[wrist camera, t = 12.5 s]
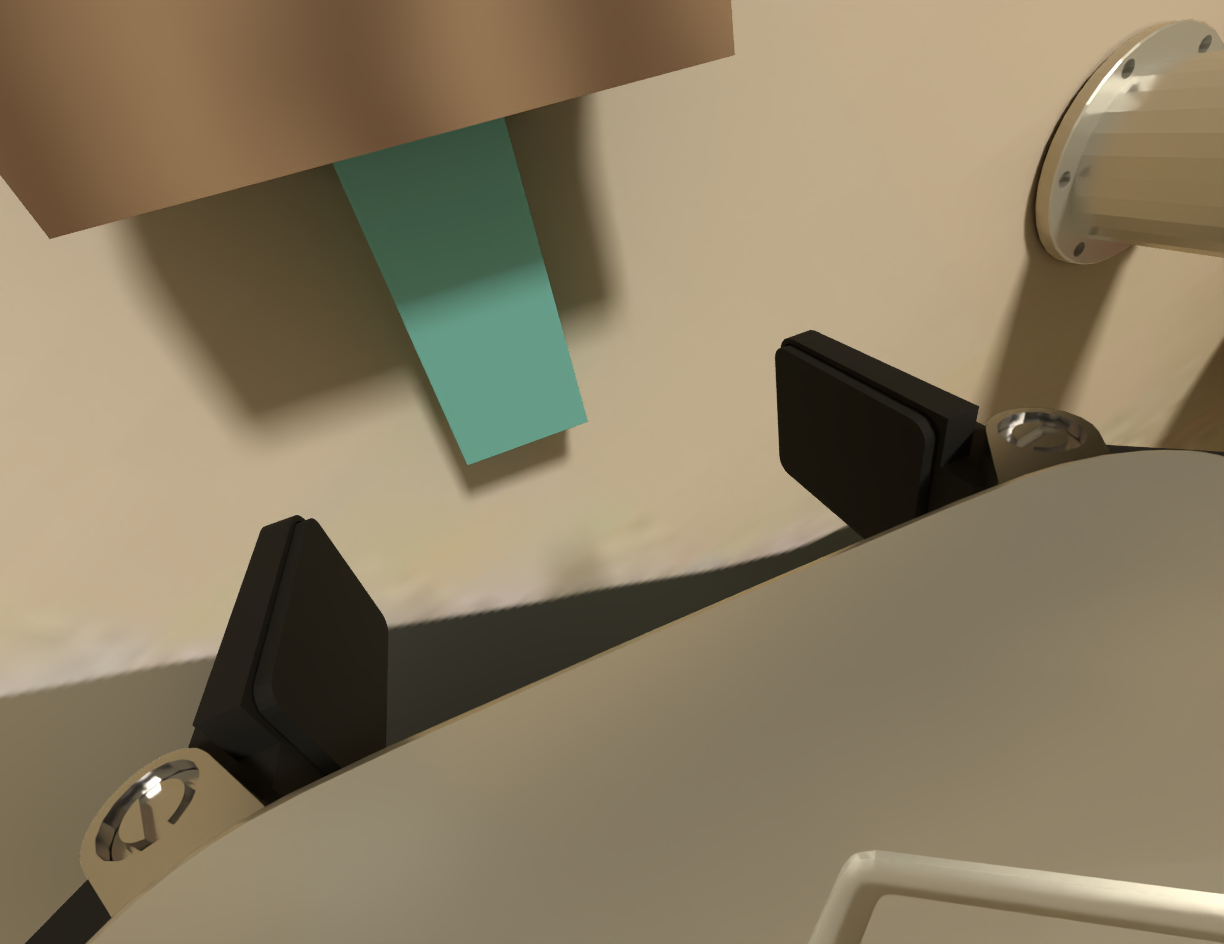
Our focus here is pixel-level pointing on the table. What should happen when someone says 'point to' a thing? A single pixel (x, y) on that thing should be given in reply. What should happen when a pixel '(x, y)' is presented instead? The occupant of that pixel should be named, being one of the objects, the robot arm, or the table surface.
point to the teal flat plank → (469, 283)
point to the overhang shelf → (292, 85)
